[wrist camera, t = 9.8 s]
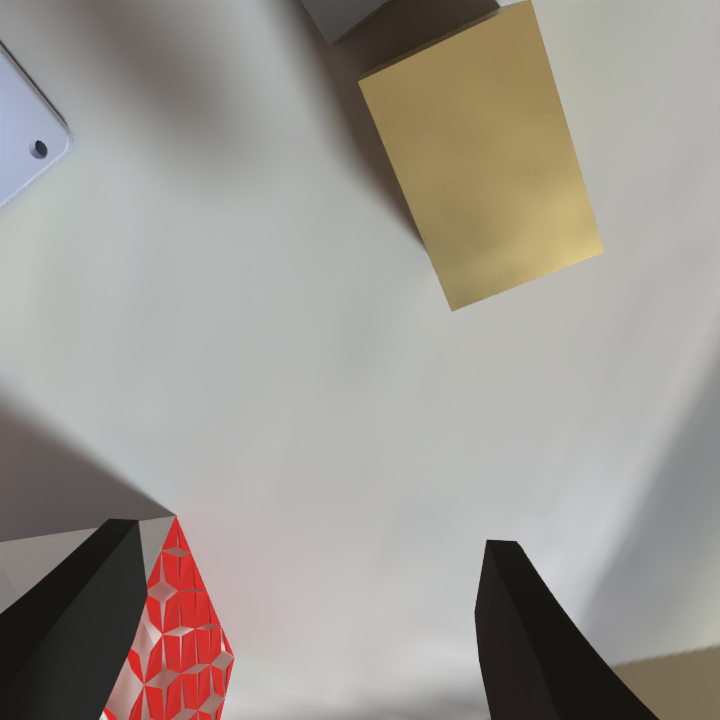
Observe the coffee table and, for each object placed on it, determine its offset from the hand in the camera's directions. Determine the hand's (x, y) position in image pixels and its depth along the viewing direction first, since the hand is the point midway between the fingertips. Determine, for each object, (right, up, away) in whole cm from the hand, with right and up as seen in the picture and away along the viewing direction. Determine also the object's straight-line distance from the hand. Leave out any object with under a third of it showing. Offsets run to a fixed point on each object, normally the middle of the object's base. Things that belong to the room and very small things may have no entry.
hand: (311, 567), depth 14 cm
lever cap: (+4, +10, +5) cm, 12 cm away
